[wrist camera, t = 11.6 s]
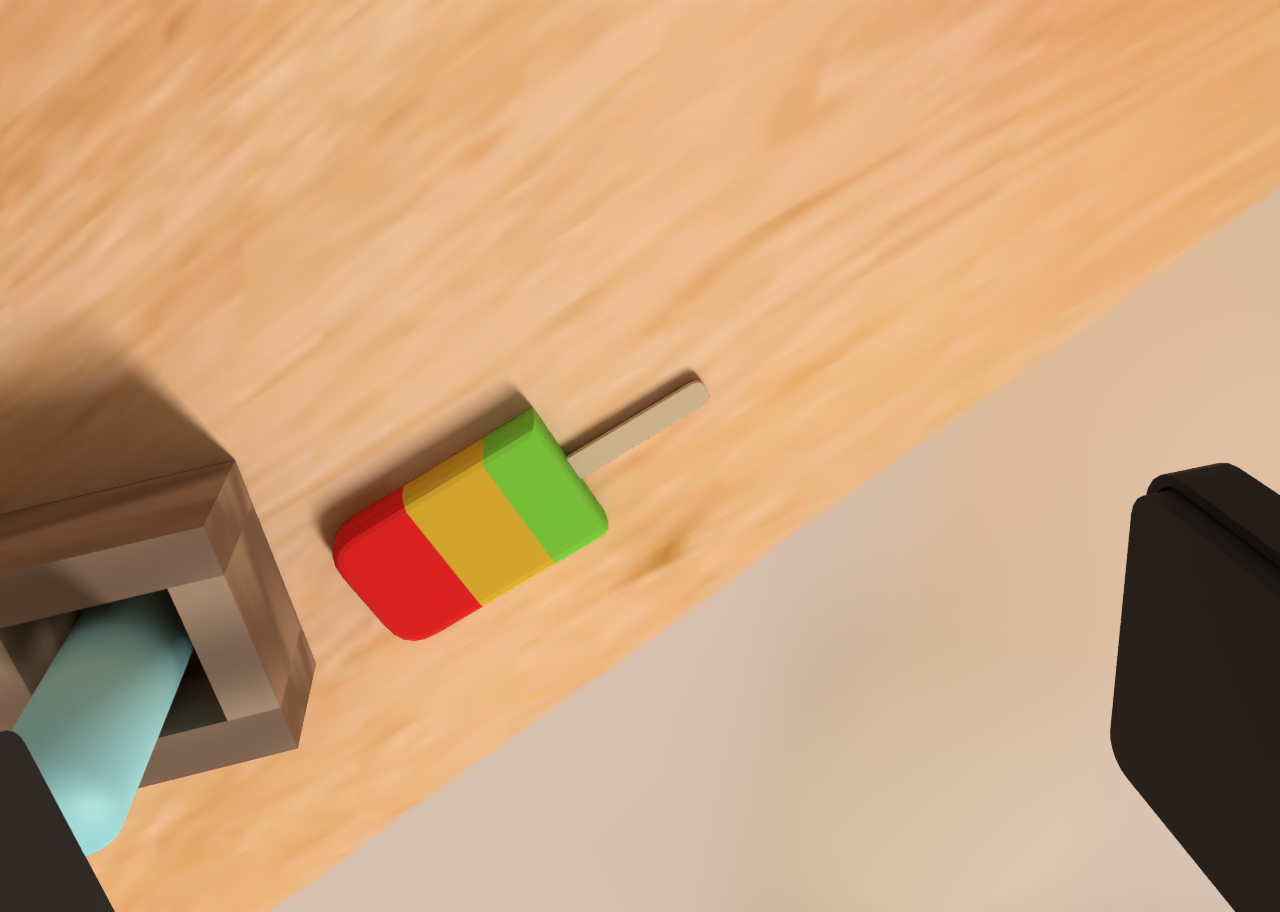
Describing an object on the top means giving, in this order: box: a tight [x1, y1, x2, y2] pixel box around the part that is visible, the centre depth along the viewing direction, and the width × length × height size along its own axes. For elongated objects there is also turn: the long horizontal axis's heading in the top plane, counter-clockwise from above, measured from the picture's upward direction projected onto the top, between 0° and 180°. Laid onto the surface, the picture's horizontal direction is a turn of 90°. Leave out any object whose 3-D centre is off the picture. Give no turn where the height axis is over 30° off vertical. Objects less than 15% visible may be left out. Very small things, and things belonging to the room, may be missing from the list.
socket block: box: [0, 460, 316, 788], centre depth 36 cm, size 9×18×5 cm, turn 101°
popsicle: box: [333, 380, 710, 641], centre depth 39 cm, size 6×15×2 cm, turn 120°
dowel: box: [11, 589, 194, 857], centre depth 34 cm, size 4×4×11 cm
